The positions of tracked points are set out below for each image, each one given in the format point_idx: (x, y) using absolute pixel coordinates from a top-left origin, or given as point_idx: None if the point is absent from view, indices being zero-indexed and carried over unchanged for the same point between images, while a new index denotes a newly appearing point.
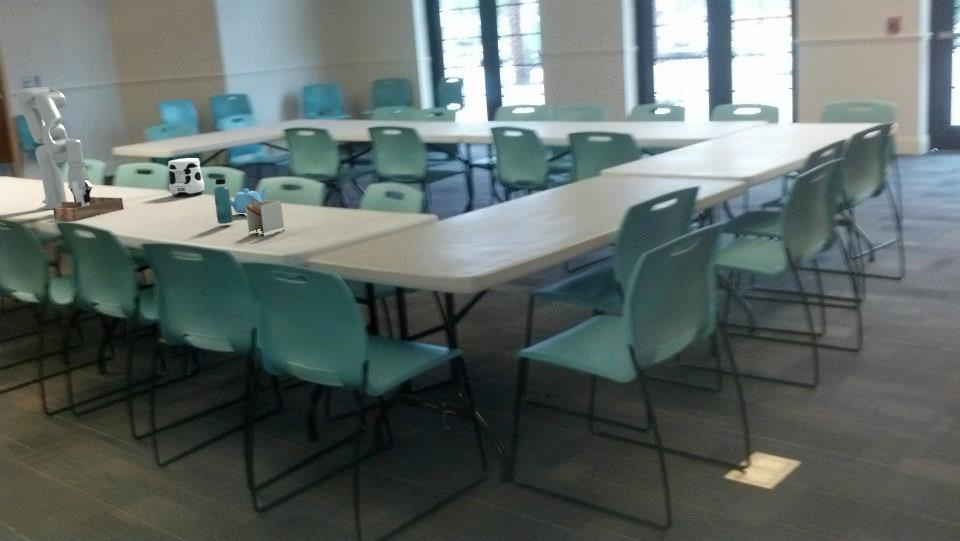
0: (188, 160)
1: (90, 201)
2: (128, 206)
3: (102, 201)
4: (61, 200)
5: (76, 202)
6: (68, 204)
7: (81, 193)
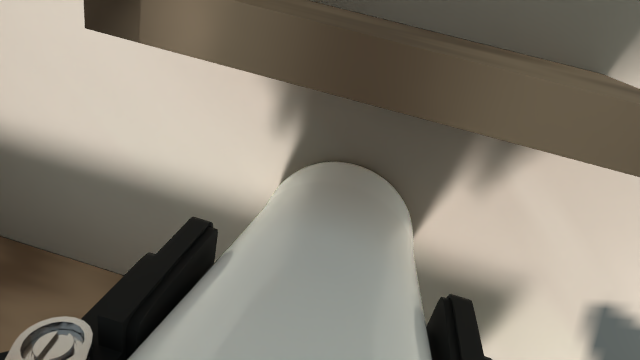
0: None
1: None
2: None
3: None
4: None
5: (179, 2)
6: (465, 55)
7: (139, 352)
